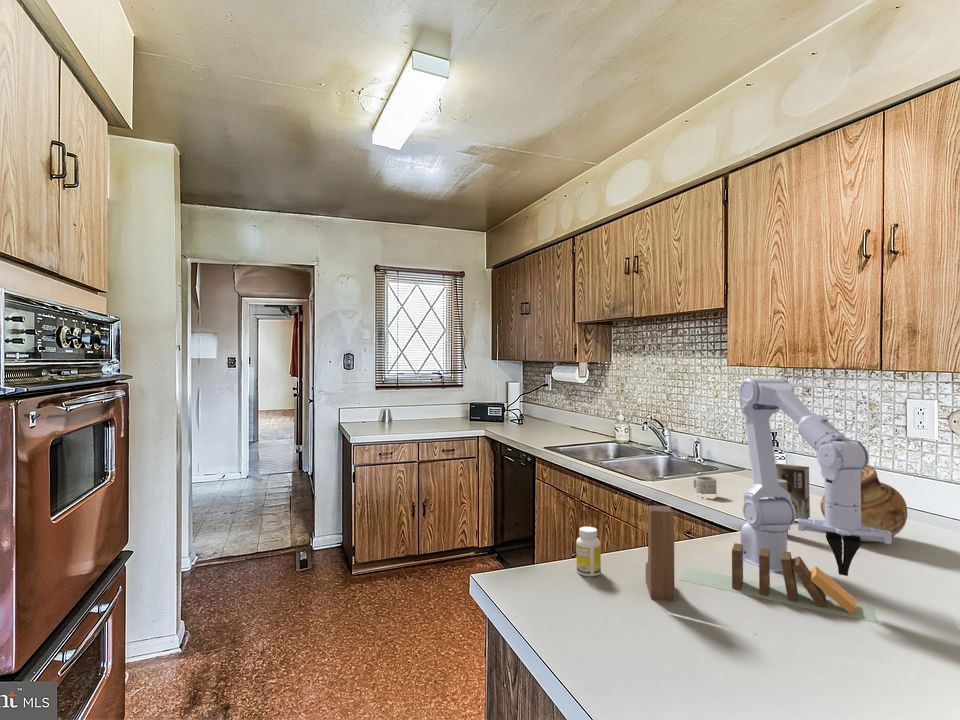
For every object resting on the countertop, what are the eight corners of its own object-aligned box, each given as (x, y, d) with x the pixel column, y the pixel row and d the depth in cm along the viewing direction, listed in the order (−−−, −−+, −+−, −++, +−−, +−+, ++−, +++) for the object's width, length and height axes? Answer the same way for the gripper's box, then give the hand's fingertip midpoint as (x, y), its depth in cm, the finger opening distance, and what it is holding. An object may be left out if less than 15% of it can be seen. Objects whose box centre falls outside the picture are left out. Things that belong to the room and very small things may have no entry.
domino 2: (759, 594, 102) (759, 554, 102) (761, 585, 106) (760, 547, 107) (768, 596, 101) (768, 556, 101) (769, 587, 106) (769, 549, 106)
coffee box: (810, 519, 154) (810, 466, 154) (806, 524, 149) (805, 469, 149) (777, 513, 160) (776, 462, 160) (771, 517, 155) (771, 465, 156)
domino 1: (732, 588, 105) (731, 550, 105) (734, 579, 109) (734, 543, 109) (740, 590, 104) (740, 551, 104) (743, 581, 108) (742, 544, 108)
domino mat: (679, 581, 109) (679, 579, 109) (686, 569, 116) (686, 567, 116) (877, 625, 91) (877, 623, 91) (872, 607, 98) (872, 605, 98)
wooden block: (645, 582, 109) (645, 499, 109) (667, 584, 108) (666, 500, 108) (651, 601, 100) (650, 510, 100) (674, 603, 99) (674, 512, 99)
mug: (720, 498, 178) (720, 479, 178) (704, 499, 176) (704, 480, 177) (701, 491, 188) (701, 474, 188) (686, 492, 186) (686, 475, 186)
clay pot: (804, 528, 145) (804, 459, 145) (864, 526, 147) (863, 458, 147) (860, 553, 126) (860, 473, 126) (928, 550, 128) (927, 471, 128)
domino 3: (788, 600, 100) (780, 559, 100) (788, 591, 104) (781, 551, 105) (797, 601, 99) (789, 559, 99) (797, 591, 103) (790, 551, 104)
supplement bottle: (597, 567, 117) (597, 525, 117) (603, 577, 112) (603, 532, 112) (574, 567, 117) (574, 525, 117) (579, 577, 111) (579, 533, 112)
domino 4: (818, 607, 97) (791, 567, 99) (817, 597, 101) (791, 559, 104) (826, 604, 96) (799, 564, 99) (825, 594, 100) (799, 556, 103)
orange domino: (850, 614, 94) (810, 579, 98) (848, 603, 98) (809, 571, 102) (857, 608, 94) (816, 574, 97) (854, 598, 98) (815, 565, 101)
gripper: (797, 502, 98) (798, 572, 97) (893, 514, 90) (894, 590, 90) (798, 494, 104) (798, 560, 103) (888, 504, 96) (888, 576, 96)
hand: (843, 573), depth 97 cm, fingers closed
